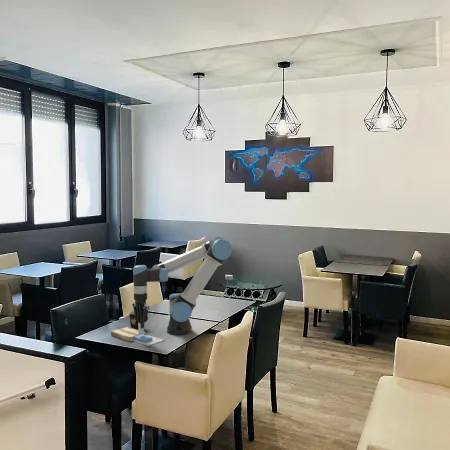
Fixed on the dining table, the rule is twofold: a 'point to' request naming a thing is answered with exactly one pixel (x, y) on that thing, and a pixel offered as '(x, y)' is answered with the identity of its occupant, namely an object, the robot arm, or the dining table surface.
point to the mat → (154, 341)
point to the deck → (126, 333)
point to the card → (143, 338)
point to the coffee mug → (133, 320)
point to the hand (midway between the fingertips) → (141, 333)
